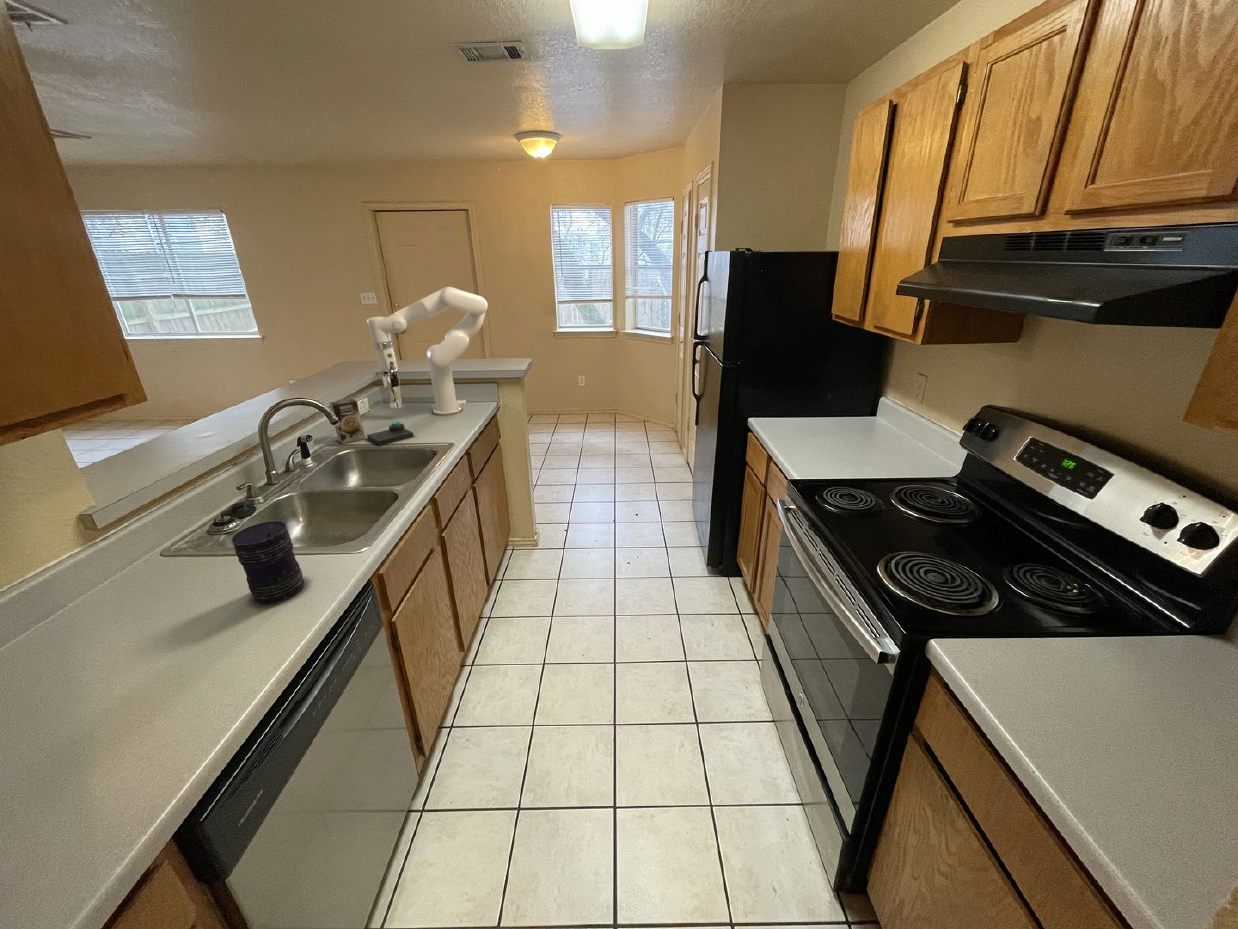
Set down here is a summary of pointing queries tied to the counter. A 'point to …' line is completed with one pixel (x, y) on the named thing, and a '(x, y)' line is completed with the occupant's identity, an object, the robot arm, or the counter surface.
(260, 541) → the storage jar
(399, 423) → the scale button
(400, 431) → the scale
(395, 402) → the beer glass
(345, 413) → the cookie box
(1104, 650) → the counter surface
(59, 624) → the counter surface
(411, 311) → the robot arm
